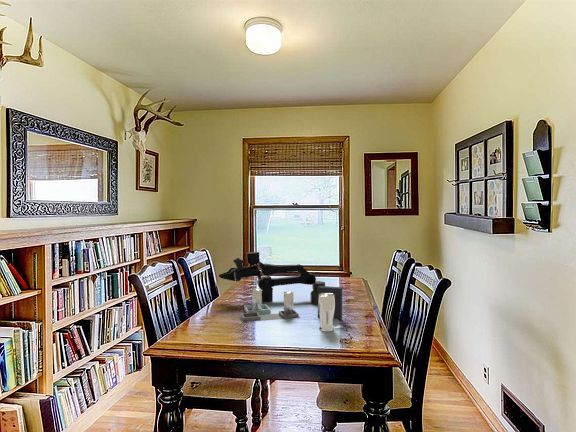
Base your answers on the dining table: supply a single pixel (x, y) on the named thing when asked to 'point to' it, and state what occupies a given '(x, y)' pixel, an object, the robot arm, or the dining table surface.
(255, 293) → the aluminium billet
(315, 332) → the dining table surface
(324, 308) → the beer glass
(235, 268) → the robot arm
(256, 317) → the tray
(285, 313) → the billet
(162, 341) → the dining table surface
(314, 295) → the ink bottle
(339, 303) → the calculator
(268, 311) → the tote
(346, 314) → the dining table surface
